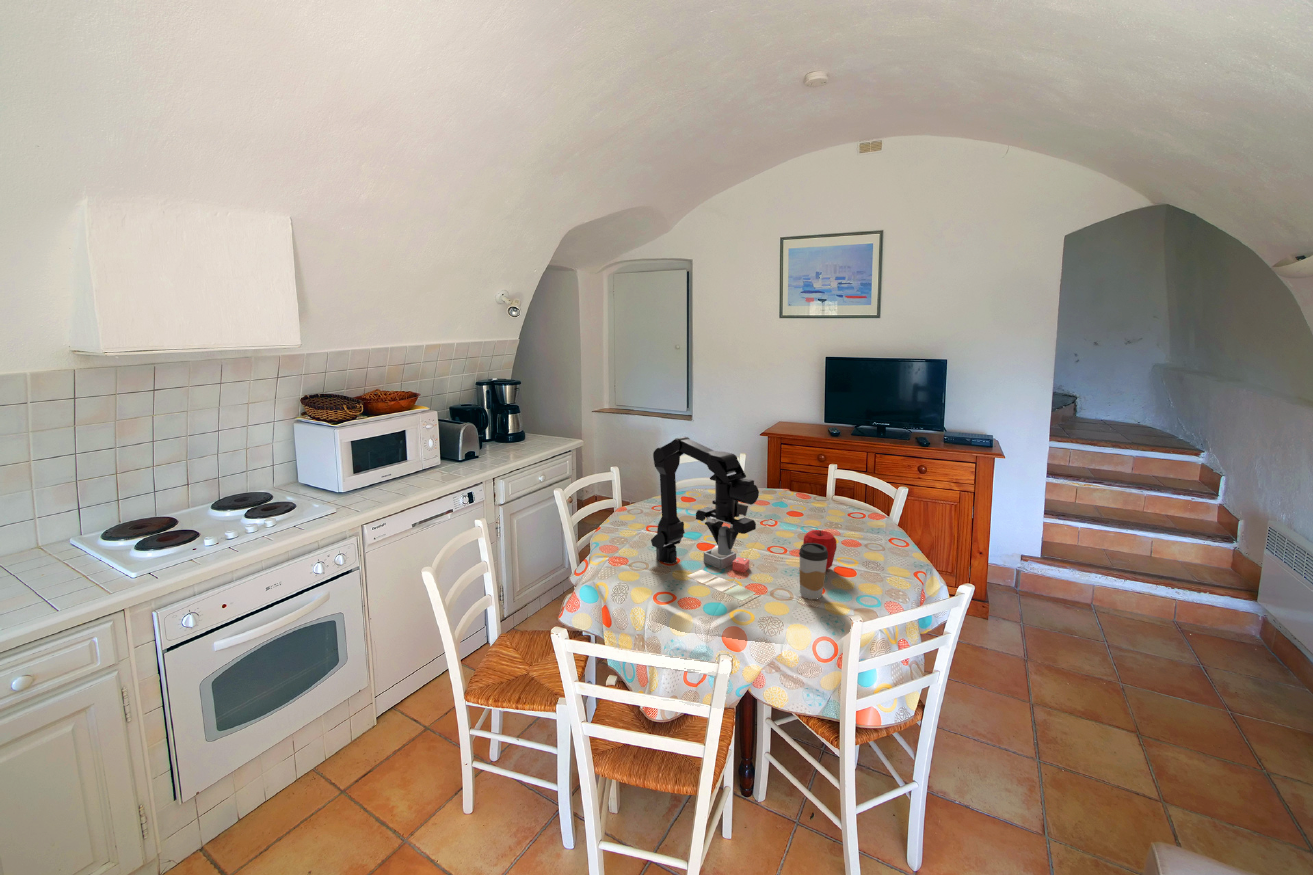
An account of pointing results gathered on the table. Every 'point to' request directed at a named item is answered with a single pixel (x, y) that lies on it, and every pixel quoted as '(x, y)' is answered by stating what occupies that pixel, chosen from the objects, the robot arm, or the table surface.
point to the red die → (740, 564)
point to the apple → (823, 543)
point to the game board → (722, 585)
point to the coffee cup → (812, 569)
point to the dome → (715, 552)
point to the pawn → (723, 542)
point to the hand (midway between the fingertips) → (724, 547)
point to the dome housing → (719, 559)
